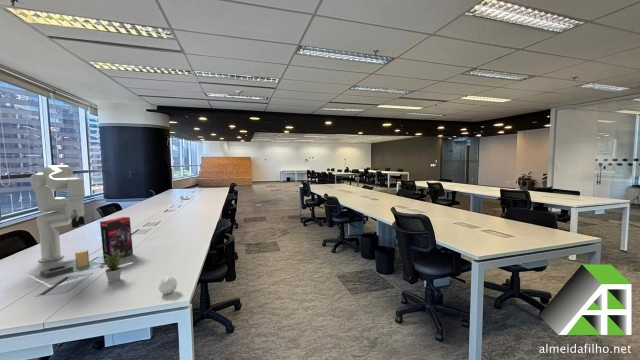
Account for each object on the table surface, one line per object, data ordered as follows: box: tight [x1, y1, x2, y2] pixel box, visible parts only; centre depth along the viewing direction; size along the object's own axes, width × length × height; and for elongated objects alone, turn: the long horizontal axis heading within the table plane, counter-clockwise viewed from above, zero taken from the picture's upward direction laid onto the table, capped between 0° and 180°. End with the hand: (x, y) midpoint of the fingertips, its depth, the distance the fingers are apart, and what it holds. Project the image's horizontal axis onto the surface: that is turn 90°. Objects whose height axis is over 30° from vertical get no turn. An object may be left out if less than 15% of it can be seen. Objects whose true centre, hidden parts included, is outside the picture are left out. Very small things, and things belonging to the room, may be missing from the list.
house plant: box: [97, 250, 126, 283], centre depth 150 cm, size 14×14×16 cm
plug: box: [74, 249, 90, 268], centre depth 169 cm, size 4×6×9 cm, turn 151°
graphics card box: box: [99, 216, 134, 261], centre depth 186 cm, size 17×7×27 cm, turn 168°
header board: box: [35, 260, 100, 280], centre depth 164 cm, size 13×26×4 cm, turn 151°
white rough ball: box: [158, 276, 178, 295], centre depth 132 cm, size 8×8×8 cm
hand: (78, 226), depth 165 cm, fingers open, 9 cm apart
